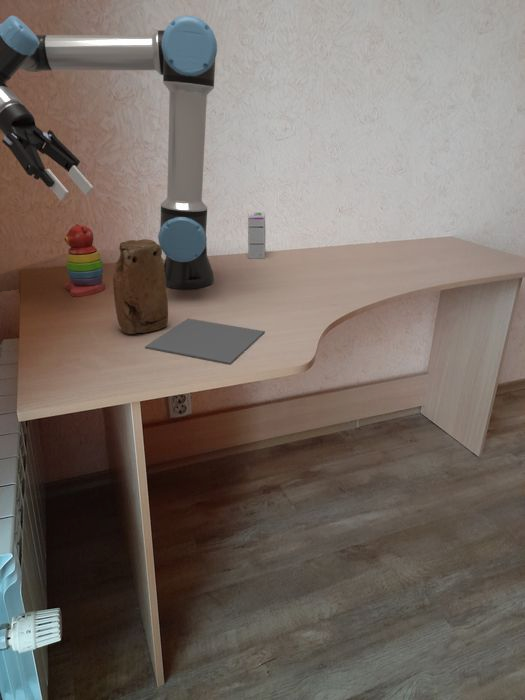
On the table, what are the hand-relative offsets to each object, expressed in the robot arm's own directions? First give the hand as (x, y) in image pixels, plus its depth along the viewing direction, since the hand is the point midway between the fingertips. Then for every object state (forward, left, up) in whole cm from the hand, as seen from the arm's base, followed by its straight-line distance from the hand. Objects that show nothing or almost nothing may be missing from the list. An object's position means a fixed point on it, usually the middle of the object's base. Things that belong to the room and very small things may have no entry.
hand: (77, 193), depth 120 cm
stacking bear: (-14, -13, -29) cm, 35 cm away
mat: (+4, +34, -29) cm, 45 cm away
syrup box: (-67, +16, -29) cm, 75 cm away
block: (+4, +18, -29) cm, 34 cm away
